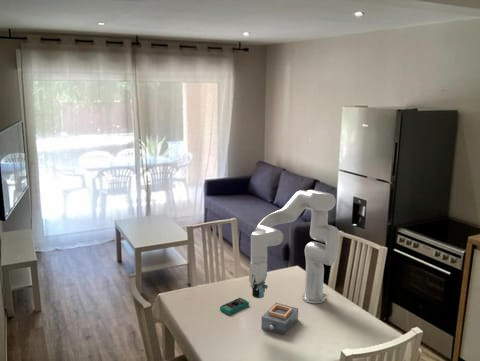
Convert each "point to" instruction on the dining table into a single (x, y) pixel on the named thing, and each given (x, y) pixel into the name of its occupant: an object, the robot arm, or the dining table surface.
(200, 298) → the dining table surface
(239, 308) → the digital multimeter
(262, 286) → the cylinder
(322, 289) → the robot arm
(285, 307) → the grey box
